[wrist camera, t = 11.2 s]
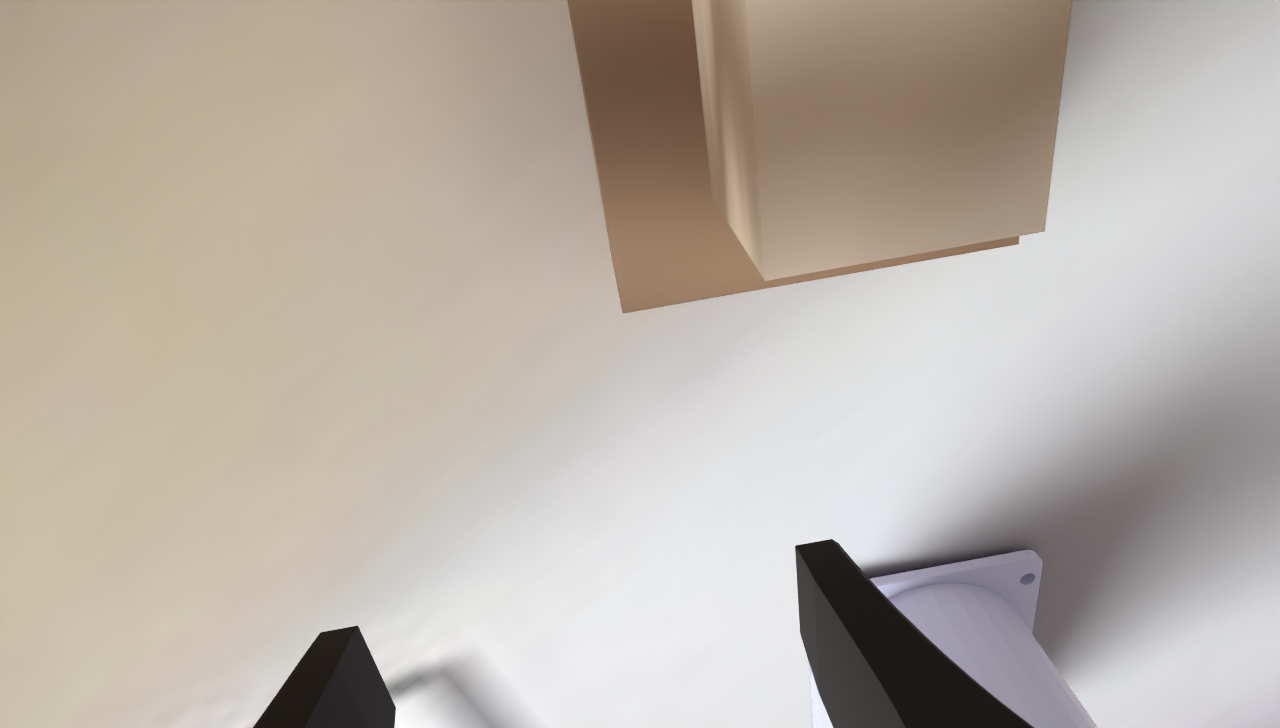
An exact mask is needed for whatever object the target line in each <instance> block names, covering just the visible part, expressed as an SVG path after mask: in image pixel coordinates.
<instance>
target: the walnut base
mask: <svg viewBox="0 0 1280 728" xmlns="http://www.w3.org/2000/svg"><path fill="white" fill-rule="evenodd" d="M568 5H569V11H570V17H571V23H572V29H573V34H574V40H575V46H576V52H577V58H578V63H579V69H580V75H581V81H582V87H583V92H584V98H585V104H586V110H587V116H588V122H589V127H590V133H591V139H592V145H593V151H594V156H595V162H596V168H597V174H598V180H599V185H600V191H601V197H602V203H603V209H604V215H605V220H606V226H607V232H608V238H609V244H610V249H611V255H612V261H613V266H614V272H615V277H616V282H617V287H618V292H619V297H620V302H621V307H622V312H623V313H628V312H634V311H640V310H646V309H651V308H657V307H663V306H668V305H674V304H680V303H685V302H691V301H697V300H703V299H708V298H714V297H720V296H725V295H731V294H737V293H742V292H748V291H754V290H760V289H765V288H771V287H777V286H782V285H788V284H794V283H799V282H805V281H811V280H817V279H822V278H828V277H834V276H839V275H845V274H851V273H856V272H862V271H868V270H874V269H879V268H885V267H891V266H896V265H902V264H908V263H914V262H919V261H925V260H931V259H936V258H942V257H948V256H953V255H959V254H965V253H971V252H976V251H982V250H988V249H993V248H999V247H1005V246H1010V245H1016V244H1019V236H1016V237H1010V238H1004V239H999V240H993V241H987V242H982V243H976V244H971V245H965V246H959V247H954V248H948V249H942V250H937V251H931V252H926V253H920V254H914V255H909V256H903V257H897V258H892V259H886V260H881V261H875V262H869V263H864V264H858V265H852V266H847V267H841V268H836V269H830V270H824V271H819V272H813V273H807V274H802V275H796V276H791V277H785V278H779V279H774V280H768V281H765V280H764V279H763V277H762V275H761V274H760V272H759V271H758V269H757V268H756V266H755V265H754V263H753V261H752V260H751V258H750V257H749V255H748V254H747V252H746V250H745V249H744V247H743V246H742V244H741V243H740V241H739V239H738V238H737V236H736V235H735V233H734V232H733V230H732V229H731V227H730V225H729V224H728V222H727V221H726V219H725V218H724V216H723V214H722V213H721V211H720V210H719V208H718V207H717V205H716V203H715V202H714V200H713V199H712V193H711V183H710V173H709V164H708V154H707V144H706V134H705V125H704V115H703V105H702V95H701V85H700V76H699V66H698V56H697V46H696V37H695V27H694V17H693V7H692V0H568Z"/></svg>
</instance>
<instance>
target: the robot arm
mask: <svg viewBox="0 0 1280 728" xmlns="http://www.w3.org/2000/svg"><path fill="white" fill-rule="evenodd" d="M795 549H796V567H797V584H798V601H799V618H800V633H801V637H802V640H803V643H804V647H805V650H806V653H807V657H808V660H809V663H810V676H811V696H812V716H813V728H1098V727H1097V726H1096V724H1095V723H1094V721H1093V720H1092V719H1091V717H1090V716H1089V714H1088V713H1087V711H1086V710H1085V709H1084V707H1083V706H1082V704H1081V703H1080V701H1079V700H1078V699H1077V697H1076V696H1075V694H1074V693H1073V691H1072V690H1071V689H1070V687H1069V686H1068V684H1067V683H1066V681H1065V680H1064V679H1063V677H1062V676H1061V674H1060V673H1059V671H1058V670H1057V669H1056V667H1055V666H1054V664H1053V663H1052V661H1051V660H1050V659H1049V657H1048V656H1047V654H1046V653H1045V651H1044V650H1043V649H1042V647H1041V646H1040V644H1039V643H1038V641H1037V640H1036V639H1035V637H1034V636H1033V634H1032V632H1033V626H1034V619H1035V613H1036V606H1037V600H1038V594H1039V587H1040V581H1041V574H1042V568H1043V561H1042V559H1041V558H1040V557H1039V556H1038V554H1037V553H1036V552H1035V551H1032V550H1022V551H1017V552H1011V553H1006V554H1000V555H995V556H990V557H984V558H979V559H973V560H968V561H962V562H957V563H951V564H946V565H941V566H935V567H930V568H924V569H919V570H913V571H908V572H903V573H897V574H892V575H886V576H881V577H875V578H870V579H869V578H868V577H867V576H866V575H865V574H864V573H863V571H862V570H861V569H860V568H859V567H858V566H857V565H856V564H855V562H854V561H853V560H852V559H851V558H850V557H849V555H848V554H847V553H846V552H845V551H844V550H843V548H842V547H841V546H840V545H839V543H837V542H835V541H834V540H832V539H830V540H825V541H819V542H814V543H808V544H803V545H797V546H795ZM395 711H396V707H395V705H394V703H393V701H392V699H391V696H390V694H389V692H388V690H387V688H386V686H385V683H384V681H383V679H382V677H381V675H380V673H379V670H378V668H377V666H376V664H375V662H374V660H373V657H372V655H371V653H370V651H369V649H368V647H367V645H366V642H365V640H364V638H363V636H362V634H361V632H360V629H359V627H358V626H354V627H348V628H343V629H337V630H332V631H326V632H321V633H320V634H319V635H318V637H317V638H316V640H315V641H314V642H313V644H312V645H311V646H310V648H309V649H308V650H307V652H306V653H305V655H304V656H303V657H302V659H301V660H300V662H299V663H298V665H297V666H296V667H295V669H294V670H293V672H292V673H291V675H290V676H289V677H288V679H287V680H286V682H285V683H284V685H283V686H282V687H281V689H280V690H279V692H278V693H277V695H276V696H275V697H274V699H273V700H272V702H271V703H270V704H269V706H268V707H267V709H266V710H265V712H264V713H263V714H262V716H261V717H260V719H259V720H258V721H257V723H256V724H255V725H254V727H253V728H394V723H395Z"/></svg>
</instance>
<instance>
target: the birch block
mask: <svg viewBox="0 0 1280 728" xmlns="http://www.w3.org/2000/svg"><path fill="white" fill-rule="evenodd" d="M1071 5H1072V0H692V7H693V17H694V27H695V37H696V46H697V56H698V66H699V76H700V85H701V95H702V105H703V115H704V125H705V134H706V144H707V154H708V164H709V173H710V183H711V193H712V199H713V200H714V202H715V203H716V205H717V207H718V208H719V210H720V211H721V213H722V214H723V216H724V218H725V219H726V221H727V222H728V224H729V225H730V227H731V229H732V230H733V232H734V233H735V235H736V236H737V238H738V239H739V241H740V243H741V244H742V246H743V247H744V249H745V250H746V252H747V254H748V255H749V257H750V258H751V260H752V261H753V263H754V265H755V266H756V268H757V269H758V271H759V272H760V274H761V275H762V277H763V279H764V280H765V281H768V280H774V279H779V278H785V277H791V276H796V275H802V274H807V273H813V272H819V271H824V270H830V269H836V268H841V267H847V266H852V265H858V264H864V263H869V262H875V261H881V260H886V259H892V258H897V257H903V256H909V255H914V254H920V253H926V252H931V251H937V250H942V249H948V248H954V247H959V246H965V245H971V244H976V243H982V242H987V241H993V240H999V239H1004V238H1010V237H1016V236H1021V235H1027V234H1032V233H1038V232H1044V231H1045V223H1046V215H1047V207H1048V198H1049V190H1050V181H1051V173H1052V164H1053V156H1054V148H1055V139H1056V131H1057V122H1058V114H1059V106H1060V97H1061V89H1062V80H1063V72H1064V64H1065V55H1066V47H1067V38H1068V30H1069V22H1070V13H1071Z"/></svg>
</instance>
